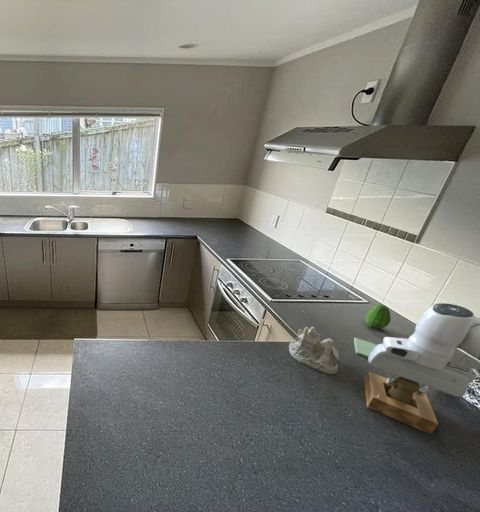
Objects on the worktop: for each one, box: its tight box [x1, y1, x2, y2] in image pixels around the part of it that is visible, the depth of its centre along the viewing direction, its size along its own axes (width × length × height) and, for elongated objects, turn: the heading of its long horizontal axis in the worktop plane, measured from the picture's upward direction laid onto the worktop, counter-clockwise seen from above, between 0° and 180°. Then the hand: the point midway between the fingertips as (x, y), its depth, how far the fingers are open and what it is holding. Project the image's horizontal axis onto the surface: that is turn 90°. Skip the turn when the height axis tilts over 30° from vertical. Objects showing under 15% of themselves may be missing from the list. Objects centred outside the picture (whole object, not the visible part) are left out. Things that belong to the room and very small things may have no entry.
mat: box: [353, 337, 378, 359], centre depth 114 cm, size 12×12×1 cm
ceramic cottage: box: [288, 326, 340, 375], centre depth 108 cm, size 16×16×15 cm
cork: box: [386, 375, 420, 405], centre depth 88 cm, size 6×6×11 cm
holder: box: [362, 370, 439, 435], centre depth 90 cm, size 14×14×4 cm
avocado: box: [365, 304, 392, 329], centre depth 128 cm, size 8×8×12 cm
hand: (403, 388), depth 88 cm, fingers closed on cork, 5 cm apart
